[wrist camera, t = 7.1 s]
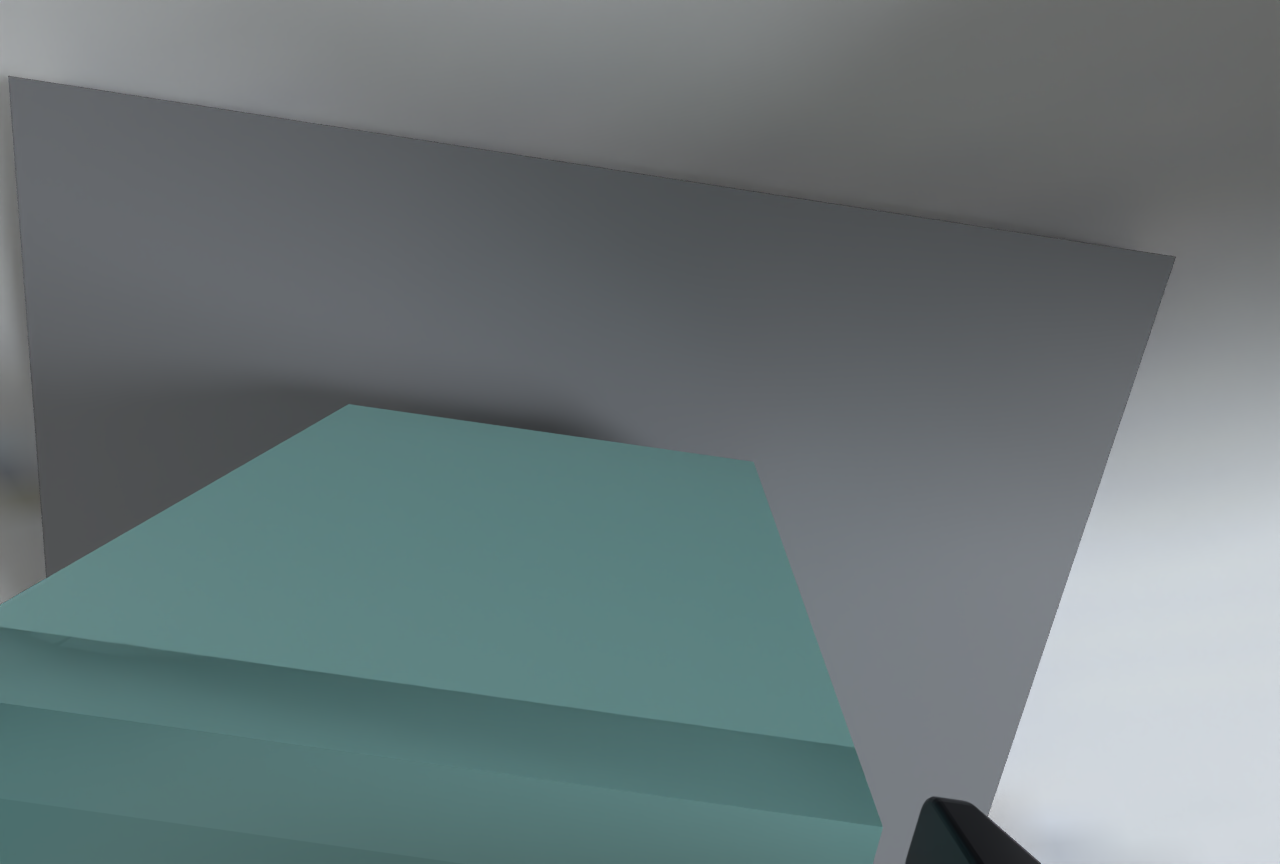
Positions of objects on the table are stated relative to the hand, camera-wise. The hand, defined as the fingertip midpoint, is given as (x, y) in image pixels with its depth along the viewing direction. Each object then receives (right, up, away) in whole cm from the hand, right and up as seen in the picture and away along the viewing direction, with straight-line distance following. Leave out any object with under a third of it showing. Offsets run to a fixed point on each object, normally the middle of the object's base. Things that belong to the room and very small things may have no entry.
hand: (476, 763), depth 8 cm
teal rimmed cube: (0, +1, +3) cm, 3 cm away
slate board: (-1, -5, +7) cm, 9 cm away
